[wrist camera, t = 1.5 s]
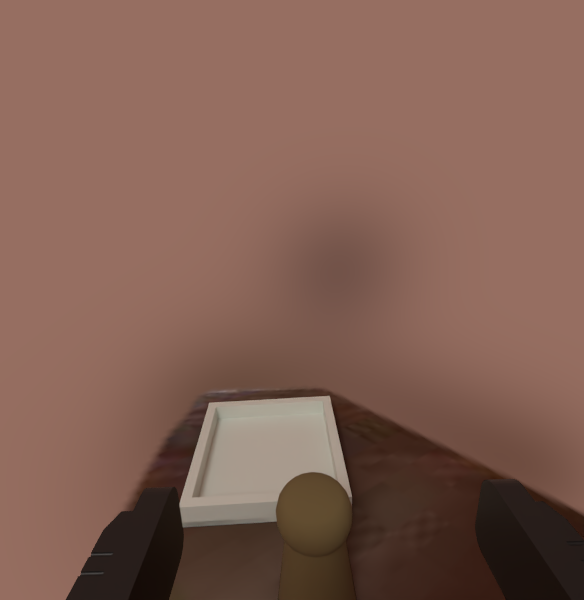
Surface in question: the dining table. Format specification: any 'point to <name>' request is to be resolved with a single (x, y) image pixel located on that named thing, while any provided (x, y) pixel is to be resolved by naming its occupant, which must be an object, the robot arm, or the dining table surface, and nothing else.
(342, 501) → the cork
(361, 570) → the dining table surface
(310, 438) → the serving tray
